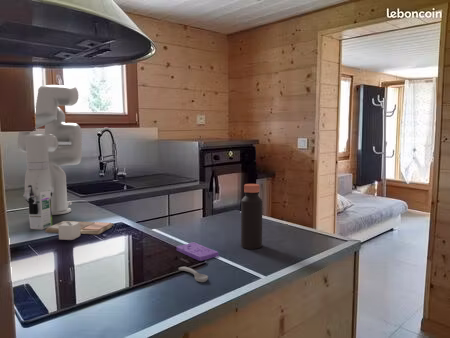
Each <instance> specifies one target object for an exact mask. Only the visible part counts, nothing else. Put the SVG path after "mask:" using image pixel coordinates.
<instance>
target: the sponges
mask: <svg viewBox="0 0 450 338" xmlns="http://www.w3.org/2000/svg"><path fill="white" fill-rule="evenodd" d="M175 248H176V251H177V252H179V253H182V254H184V255H185V256H188V257H190V258H191V259H195V260H196V261H199V262H202V261H206V260H208V259H209V260H210V259H211V258H215V257H219V251H218V250H214V249H212V248H209V247H207V246H204V245H202V244H199V243H197V242H194V241H193V242H189V243H186V244H183V245H182V244H181V245H177V246H176V247H175Z"/></svg>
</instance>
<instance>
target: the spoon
mask: <svg viewBox="0 0 450 338" xmlns="http://www.w3.org/2000/svg"><path fill="white" fill-rule="evenodd" d="M178 270H179V271H182V272H183V271H184V272H188V273H191V274H193V275H194V280H195V281H196V282H197V283H198V282H199V283H206V282H207V281H208V279H209V275H206V274H204V273H200V272H198V271H197V270H195V269H194V268H192V267H191V268H190V267H187V266H180V267H178Z"/></svg>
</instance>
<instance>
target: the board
mask: <svg viewBox="0 0 450 338" xmlns="http://www.w3.org/2000/svg"><path fill="white" fill-rule="evenodd" d="M66 222H78V221H76V220H75V221H74V220H73V221H70V220H62V221H61V222H60V221H59V222H57V223H55V224H53V225H52V226H50V227H48V228H45V229H44V231H45V233H52V234H53V233H57V234H59V227H58V225H61V224H63V223H66ZM79 222H80V235H81V234H83V235H100V234H102V233H104V232H106V231H107V230H109V229H111V228H113V227H114V222H101V221H96V222H95V221H79ZM112 226H113V227H112Z"/></svg>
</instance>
